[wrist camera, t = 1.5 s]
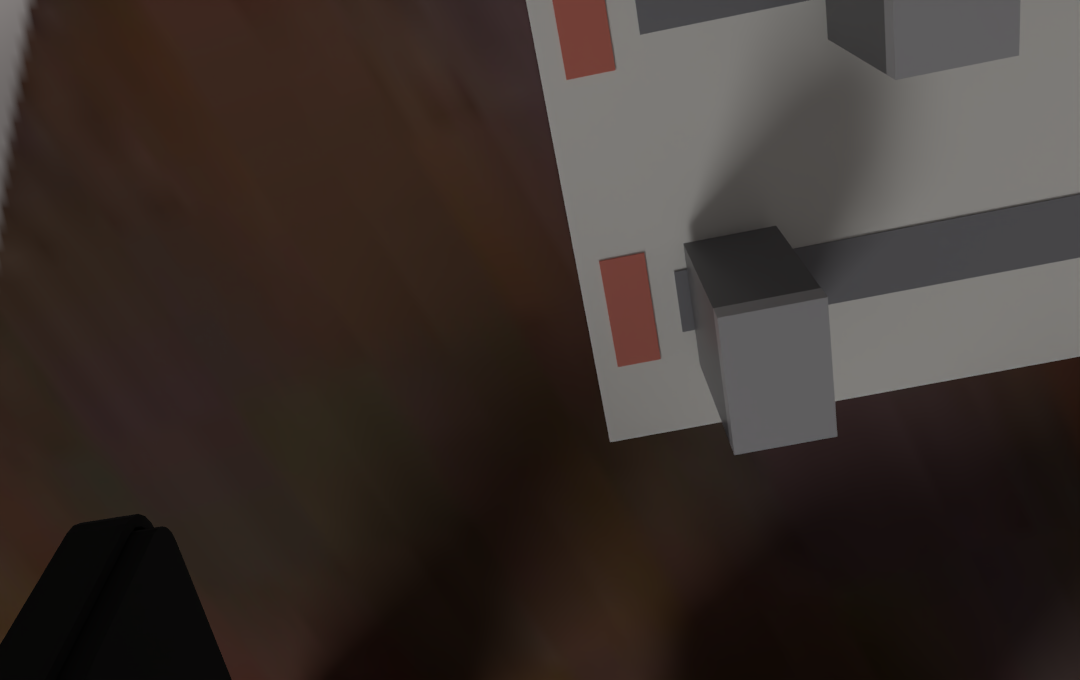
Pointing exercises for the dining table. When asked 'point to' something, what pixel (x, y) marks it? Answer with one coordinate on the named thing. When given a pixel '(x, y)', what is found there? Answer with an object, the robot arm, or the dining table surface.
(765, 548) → the dining table surface
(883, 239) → the breaker panel
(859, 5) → the block
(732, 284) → the block
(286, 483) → the dining table surface
